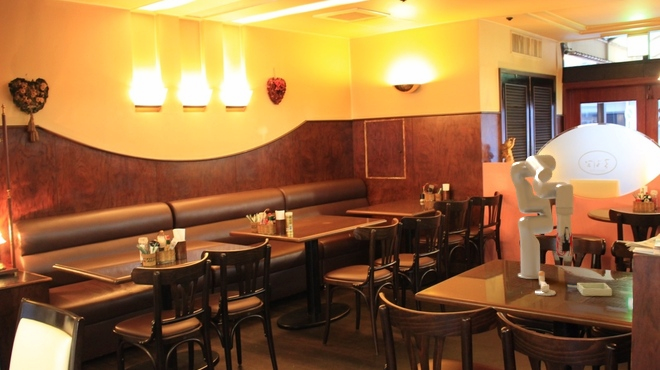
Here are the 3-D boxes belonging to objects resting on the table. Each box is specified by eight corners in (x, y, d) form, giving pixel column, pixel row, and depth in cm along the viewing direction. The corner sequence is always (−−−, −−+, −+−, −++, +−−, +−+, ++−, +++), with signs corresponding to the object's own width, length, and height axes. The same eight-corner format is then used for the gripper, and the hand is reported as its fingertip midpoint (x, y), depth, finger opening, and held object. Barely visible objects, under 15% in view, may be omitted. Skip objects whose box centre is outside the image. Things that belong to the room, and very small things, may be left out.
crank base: (533, 291, 299) (533, 288, 299) (553, 291, 298) (553, 288, 298) (536, 296, 291) (536, 293, 290) (557, 296, 289) (556, 293, 289)
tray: (577, 289, 300) (577, 282, 300) (604, 289, 298) (604, 282, 298) (582, 295, 288) (582, 289, 288) (611, 295, 286) (611, 289, 286)
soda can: (574, 258, 288) (574, 231, 287) (557, 257, 289) (557, 231, 288) (571, 254, 295) (571, 229, 293) (555, 254, 296) (555, 229, 295)
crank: (541, 291, 293) (541, 276, 292) (537, 285, 306) (537, 270, 305) (549, 291, 292) (549, 276, 291) (545, 285, 305) (545, 270, 305)
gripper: (552, 208, 299) (552, 246, 301) (559, 213, 282) (559, 253, 284) (569, 208, 298) (569, 246, 299) (576, 213, 281) (577, 253, 282)
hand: (564, 249), depth 291 cm, fingers closed on soda can, 6 cm apart
